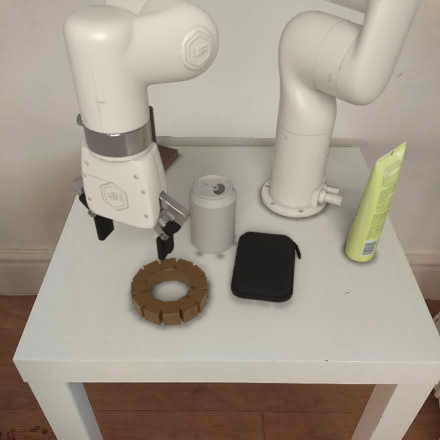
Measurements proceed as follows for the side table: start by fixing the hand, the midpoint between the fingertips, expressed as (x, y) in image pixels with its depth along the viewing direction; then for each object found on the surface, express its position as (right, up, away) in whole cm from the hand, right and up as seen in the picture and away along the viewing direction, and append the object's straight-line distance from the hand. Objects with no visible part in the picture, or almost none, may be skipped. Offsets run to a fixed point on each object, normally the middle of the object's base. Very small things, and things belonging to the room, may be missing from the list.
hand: (135, 244), depth 65 cm
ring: (+4, -7, +6) cm, 11 cm away
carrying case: (+20, -4, +10) cm, 22 cm away
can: (+11, +2, +14) cm, 18 cm away
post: (-2, +21, +31) cm, 37 cm away
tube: (+36, 0, +13) cm, 38 cm away
